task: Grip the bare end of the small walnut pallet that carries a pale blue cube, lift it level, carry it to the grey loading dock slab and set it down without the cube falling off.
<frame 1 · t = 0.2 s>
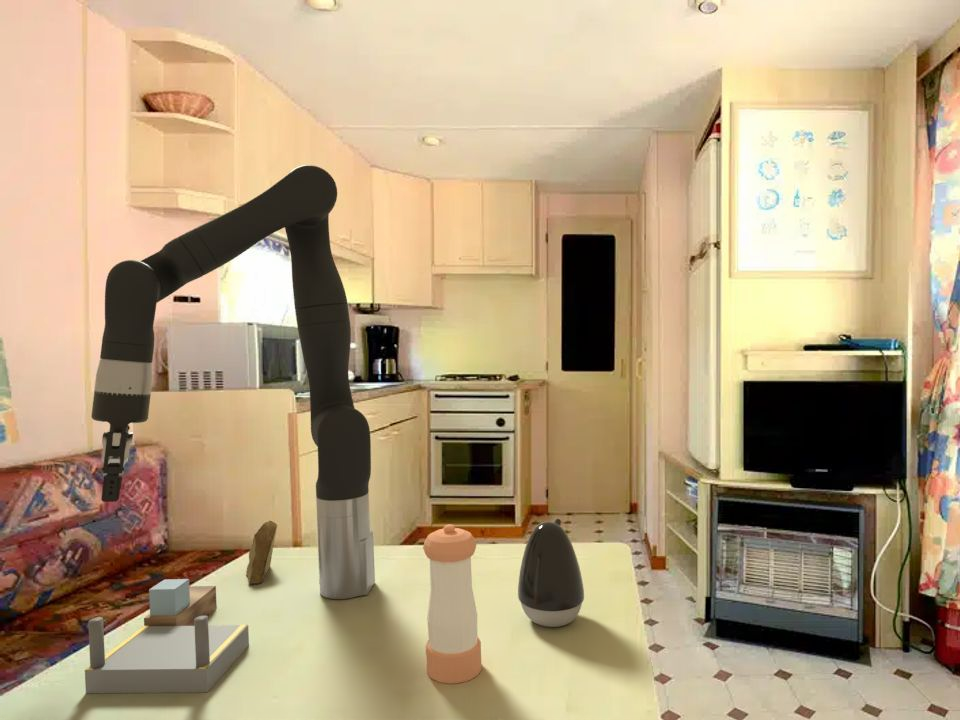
hand: (111, 495, 91), 22 cm above the table, tool pointing down, fingers open, 8 cm apart
dock: (173, 667, 81), on the table
pallet: (183, 625, 95), on the table
pale blue cube: (170, 609, 91), point 4 cm above the table
salt shaker: (454, 670, 78), on the table
rock: (256, 576, 115), on the table
dark grey egg shape: (552, 620, 92), on the table
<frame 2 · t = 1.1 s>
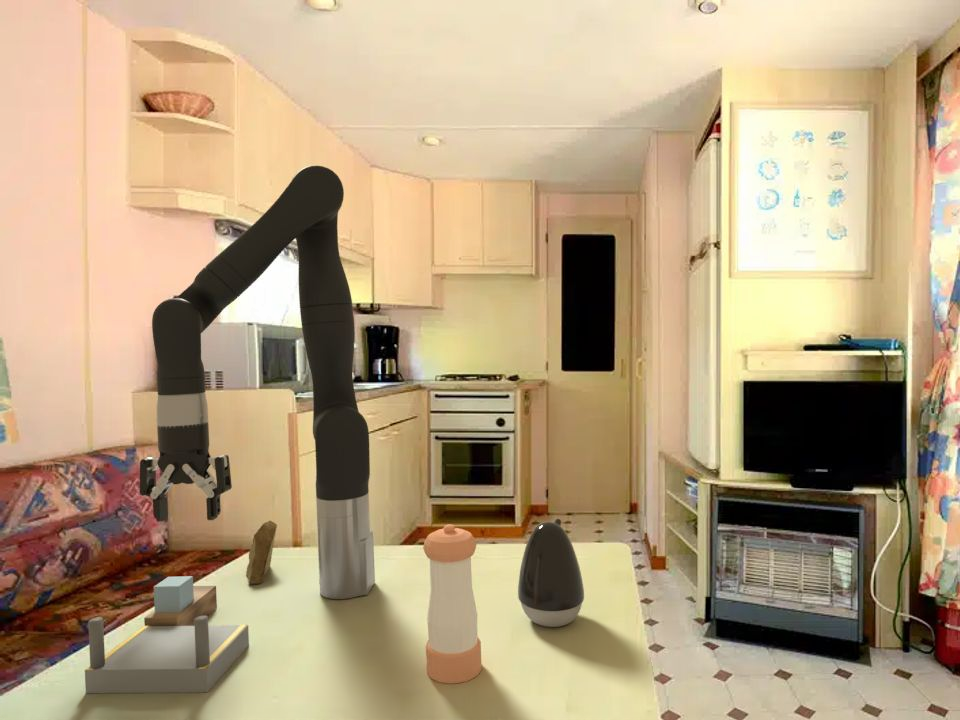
hand: (187, 519, 97), 16 cm above the table, tool pointing down, fingers open, 8 cm apart
pallet: (183, 625, 95), on the table, touching pale blue cube
pale blue cube: (174, 606, 92), point 4 cm above the table, touching pallet
everything else where it was.
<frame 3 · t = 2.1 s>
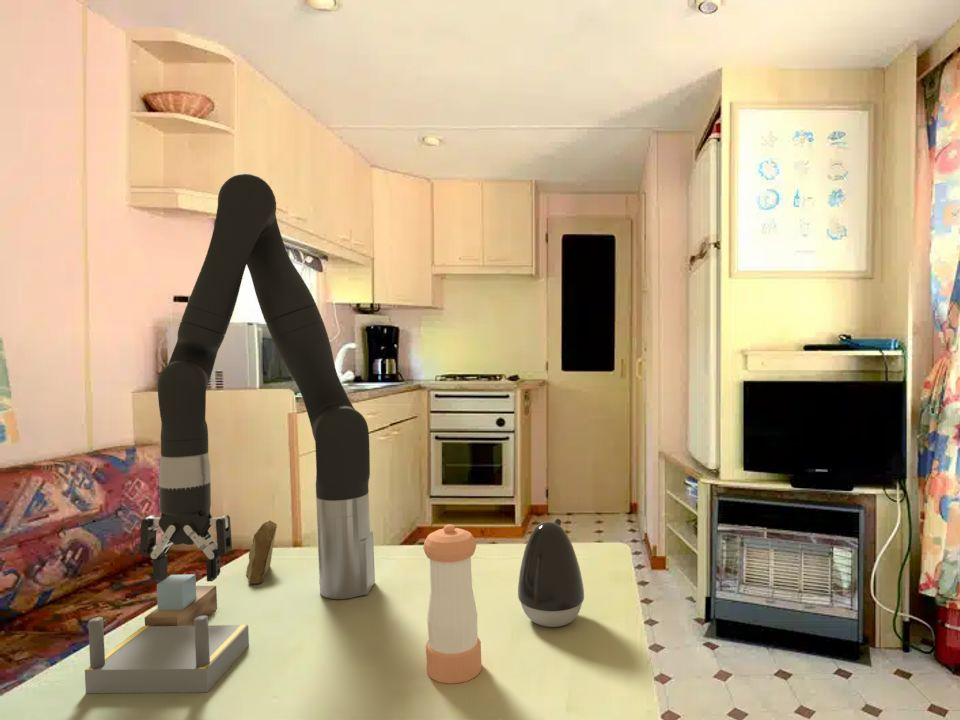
hand: (186, 579, 97), 6 cm above the table, tool pointing down, fingers open, 8 cm apart
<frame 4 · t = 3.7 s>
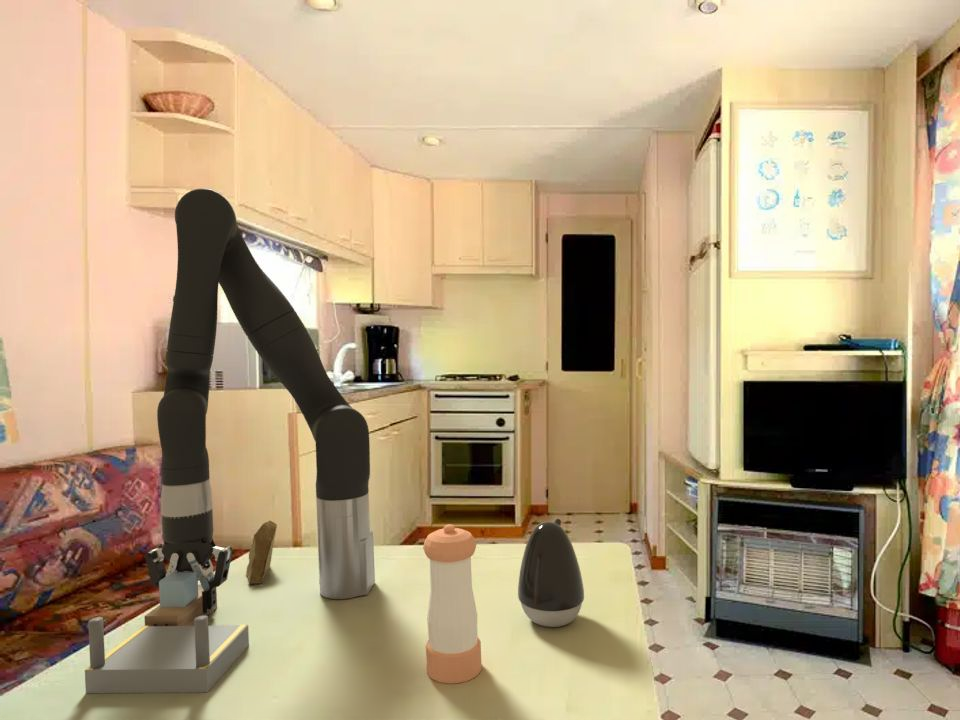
hand: (191, 610, 97), 1 cm above the table, tool pointing down, fingers closed on pallet, 5 cm apart
pallet: (183, 623, 95), on the table, touching pale blue cube, gripper
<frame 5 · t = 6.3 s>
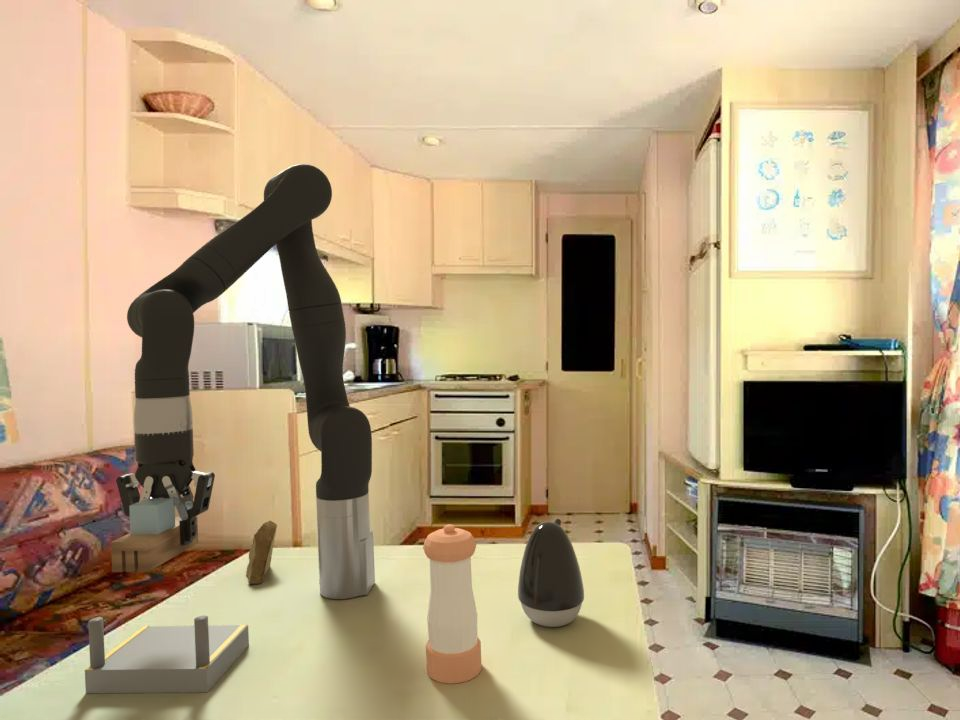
hand: (168, 543, 86), 16 cm above the table, tool pointing down, fingers closed on pallet, 5 cm apart
pallet: (158, 556, 84), point 15 cm above the table, touching pale blue cube, gripper
pale blue cube: (153, 530, 83), point 19 cm above the table, touching pallet
everything else where it was.
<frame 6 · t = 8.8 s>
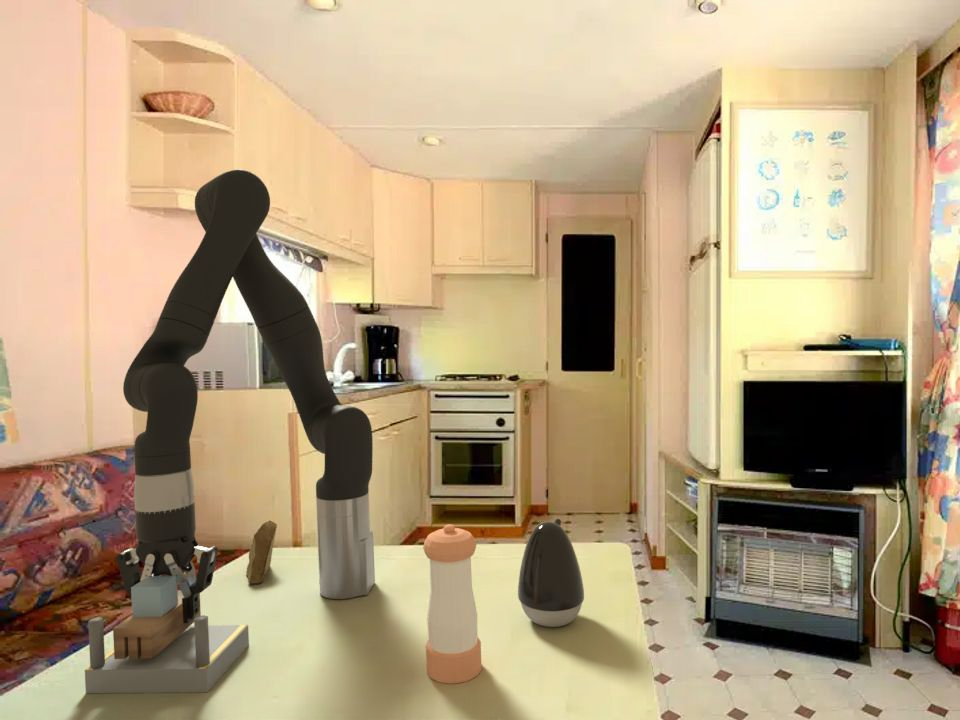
hand: (170, 620, 84), 5 cm above the table, tool pointing down, fingers closed on pallet, 5 cm apart
pallet: (160, 636, 82), point 4 cm above the table, touching pale blue cube, gripper
pale blue cube: (155, 610, 81), point 8 cm above the table, touching pallet
everything else where it was.
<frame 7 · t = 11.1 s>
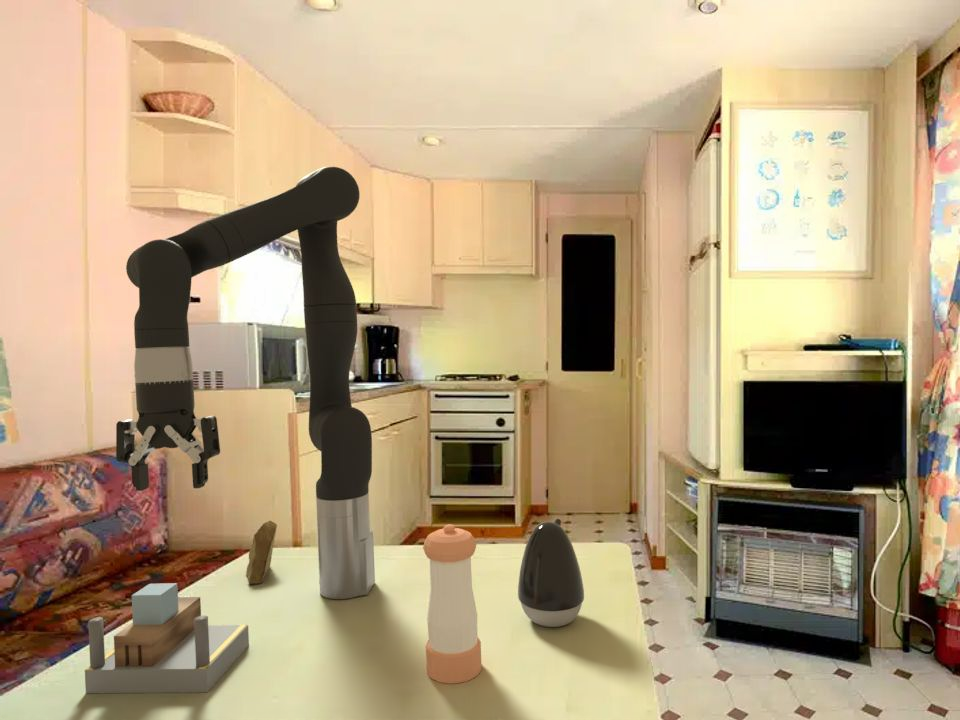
hand: (170, 488, 87), 23 cm above the table, tool pointing down, fingers open, 8 cm apart
pallet: (161, 643, 82), point 3 cm above the table, touching pale blue cube, dock
pale blue cube: (156, 618, 81), point 7 cm above the table, touching pallet
everything else where it was.
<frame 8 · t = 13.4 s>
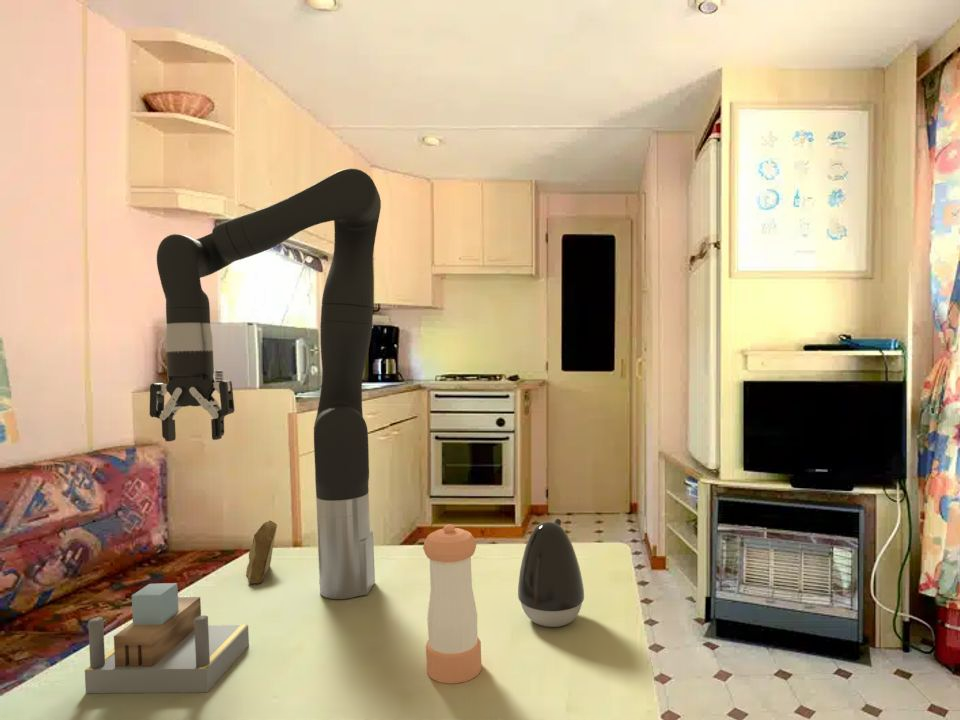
hand: (193, 440, 105), 28 cm above the table, tool pointing down, fingers open, 8 cm apart
nothing on the table moved.
at the end: pallet inside the target area on the dock (2.0 cm from its centre), point 3.0 cm above the dock's base; pale blue cube inside the target area on the pallet (0.9 cm from its centre), point 4.0 cm above the pallet's base; pallet tilted 0° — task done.
